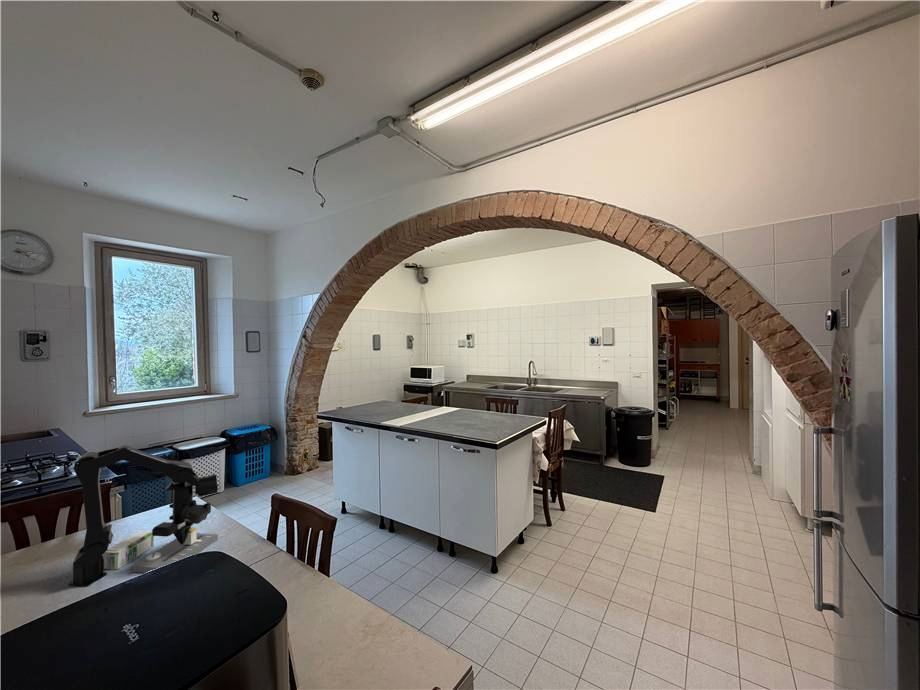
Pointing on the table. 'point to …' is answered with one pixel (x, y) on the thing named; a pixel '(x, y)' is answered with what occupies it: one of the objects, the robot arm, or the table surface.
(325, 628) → the table surface
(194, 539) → the fader
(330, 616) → the table surface
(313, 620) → the table surface
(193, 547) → the console
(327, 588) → the table surface
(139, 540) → the syrup box
